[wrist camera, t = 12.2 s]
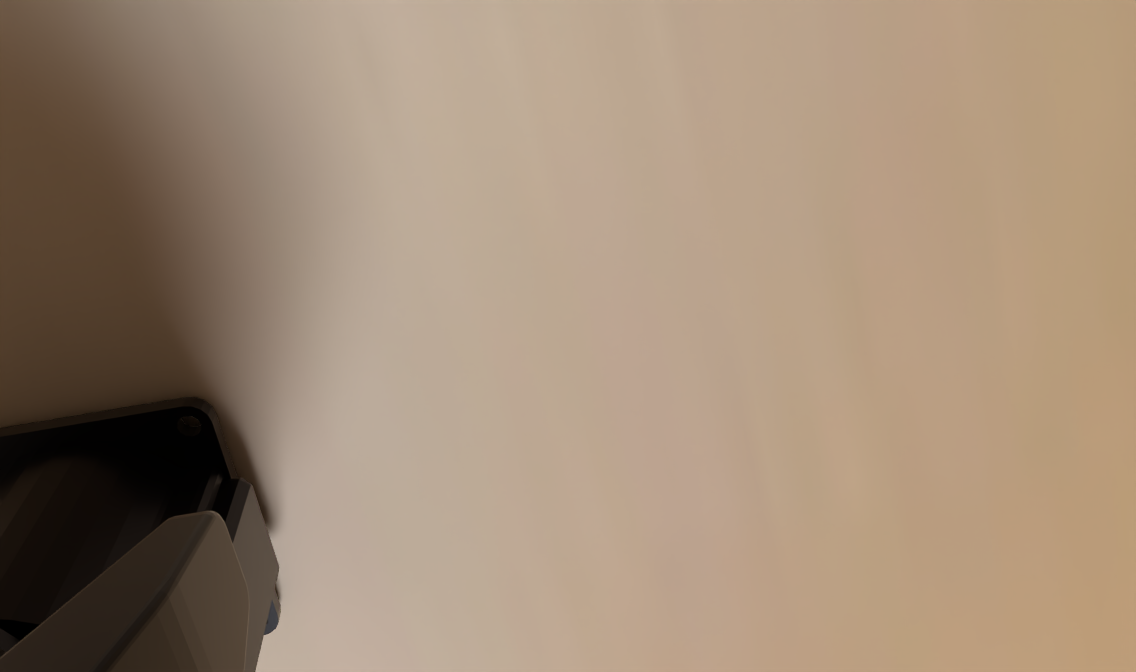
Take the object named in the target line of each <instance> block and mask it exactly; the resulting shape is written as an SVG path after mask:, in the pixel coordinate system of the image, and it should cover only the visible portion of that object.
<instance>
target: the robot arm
mask: <svg viewBox="0 0 1136 672" xmlns="http://www.w3.org/2000/svg"><path fill="white" fill-rule="evenodd" d="M184 416H192V417H194V418H196V419H198V420H199V422H200V423H201V425H200V426H198V427H191V426H189V425H187V424H185V423H184V422H183V420H182V417H184ZM278 572H279V565H278V561H277V558H276V555H275V552H274V549H273V546H272V543H271V540H270V537H269V534H268V531H267V528H266V525H265V522H264V519H263V516H262V513H261V510H260V507H259V504H258V501H257V498H256V495H255V492H254V488H253V486H252V484H250V483H249V482H248V481H246V480H245V479H244V478H242V477H237V474H236V471H235V468H234V465H233V462H232V459H231V456H230V453H229V450H228V447H227V444H226V441H225V438H224V436H223V433H222V430H221V427H220V424H219V421H218V418H217V415H216V412H215V411H214V409H213V407H212V406H211V405H210V404H209V403H207V402H206V401H205V400H202V399H199V398H196V397H186V398H180V399H174V400H168V401H162V402H156V403H150V404H144V405H138V406H132V407H126V408H120V409H114V410H108V411H102V412H96V413H89V414H83V415H77V416H71V417H65V418H59V419H53V420H47V421H41V422H35V423H29V424H23V425H17V426H11V427H5V428H0V672H255V670H256V666H257V661H258V657H259V653H260V649H261V644H262V640H263V636H264V635H266V634H269V633H271V632H272V631H273V630H274V629H276V627H277V625H278V622H279V617H280V613H281V607H280V603H279V600H278V597H277V594H276V591H275V585H276V580H277V576H278Z"/></svg>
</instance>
